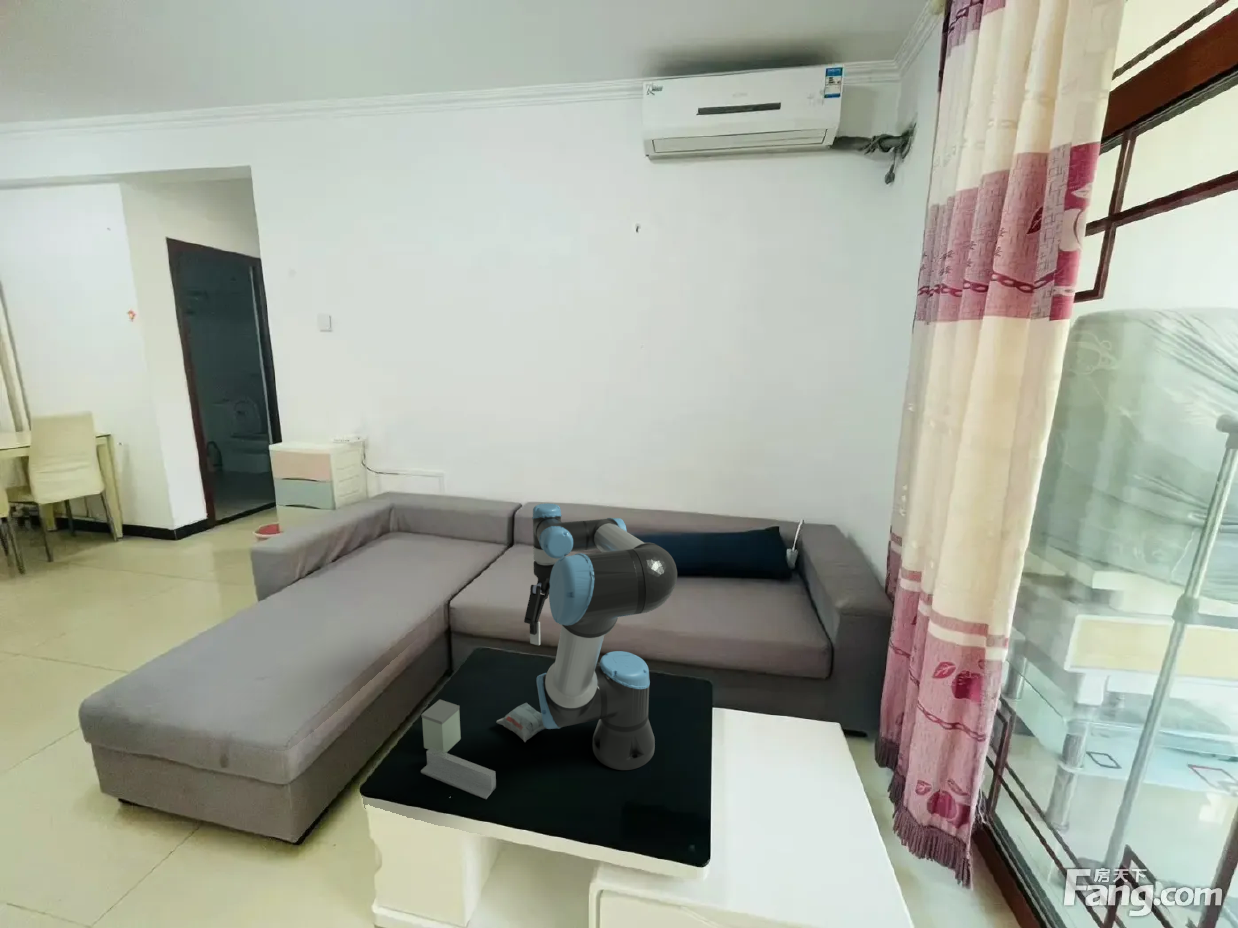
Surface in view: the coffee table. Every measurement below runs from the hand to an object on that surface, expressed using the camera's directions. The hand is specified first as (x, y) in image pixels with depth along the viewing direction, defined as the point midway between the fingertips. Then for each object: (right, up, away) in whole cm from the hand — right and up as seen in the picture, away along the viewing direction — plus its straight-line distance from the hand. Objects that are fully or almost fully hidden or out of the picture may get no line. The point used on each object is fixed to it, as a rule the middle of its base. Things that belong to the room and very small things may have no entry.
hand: (548, 631), depth 143 cm
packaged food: (-8, -22, -12) cm, 27 cm away
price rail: (-16, -23, -28) cm, 40 cm away
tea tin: (-23, -21, -18) cm, 37 cm away
